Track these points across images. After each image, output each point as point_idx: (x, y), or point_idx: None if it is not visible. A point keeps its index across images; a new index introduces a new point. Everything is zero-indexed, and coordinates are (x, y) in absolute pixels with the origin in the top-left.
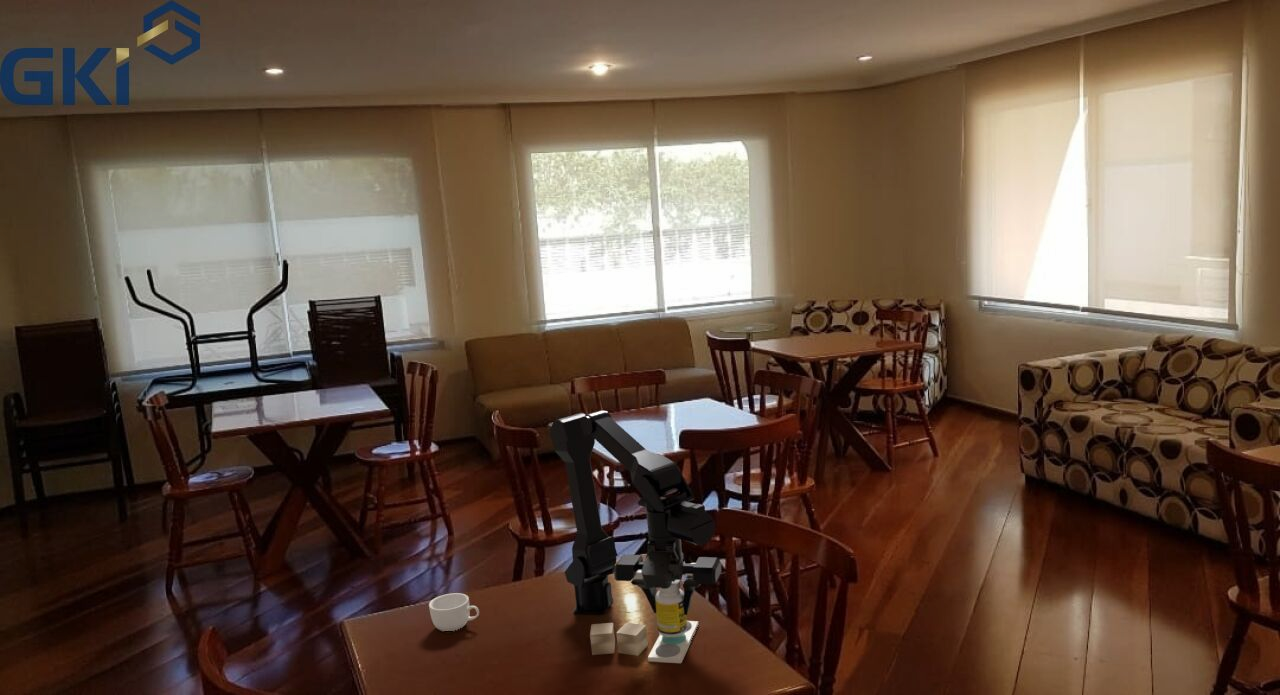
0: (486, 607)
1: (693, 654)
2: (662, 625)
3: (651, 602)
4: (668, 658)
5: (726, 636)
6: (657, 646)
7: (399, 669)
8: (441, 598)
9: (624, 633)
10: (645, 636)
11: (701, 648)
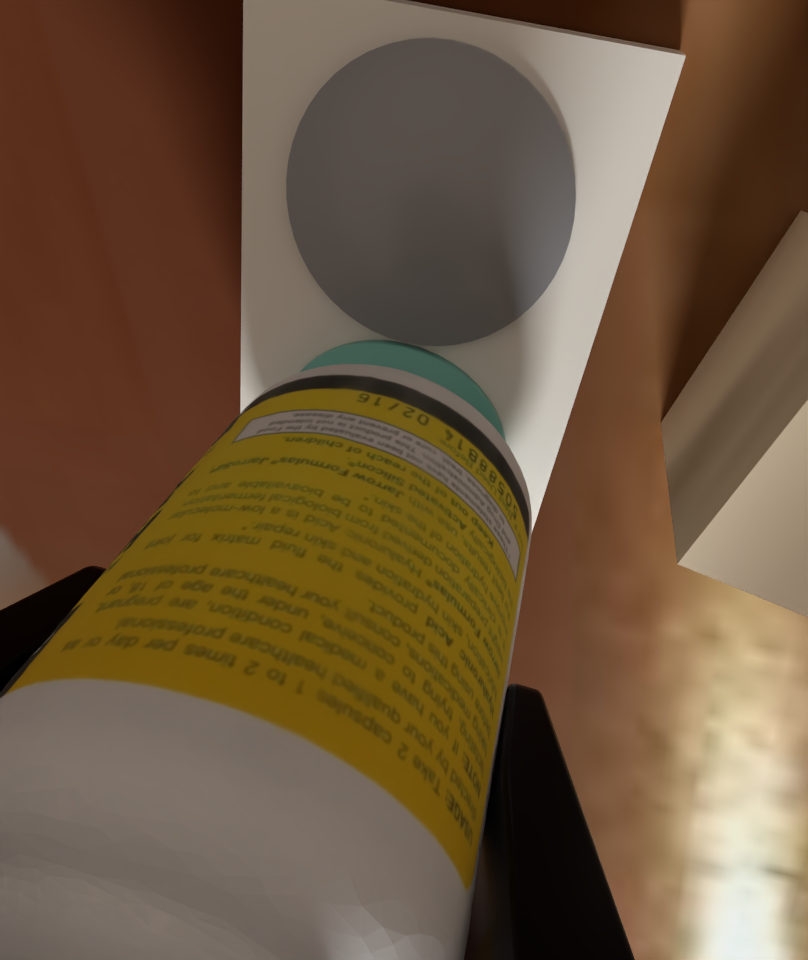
0: None
1: (184, 189)
2: (436, 470)
3: (555, 853)
4: (403, 3)
5: (15, 456)
6: (552, 320)
7: None
8: None
9: None
10: (687, 459)
11: (142, 298)
